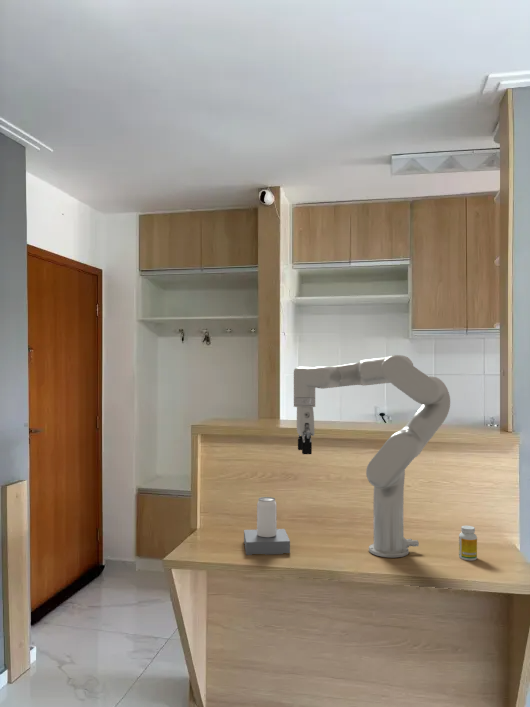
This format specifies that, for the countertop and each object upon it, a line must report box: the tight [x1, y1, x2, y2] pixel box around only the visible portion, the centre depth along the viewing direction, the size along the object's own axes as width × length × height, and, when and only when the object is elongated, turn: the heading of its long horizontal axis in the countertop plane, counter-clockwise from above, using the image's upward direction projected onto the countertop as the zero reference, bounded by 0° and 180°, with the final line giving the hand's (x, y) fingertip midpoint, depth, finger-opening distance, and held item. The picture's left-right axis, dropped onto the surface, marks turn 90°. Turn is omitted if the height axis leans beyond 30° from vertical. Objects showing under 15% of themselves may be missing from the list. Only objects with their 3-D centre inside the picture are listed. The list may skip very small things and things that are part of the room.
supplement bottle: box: [458, 525, 478, 562], centre depth 181 cm, size 5×5×10 cm
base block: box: [243, 528, 291, 556], centre depth 191 cm, size 14×14×4 cm
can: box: [256, 496, 278, 538], centre depth 191 cm, size 6×6×12 cm
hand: (304, 451), depth 200 cm, fingers open, 9 cm apart
